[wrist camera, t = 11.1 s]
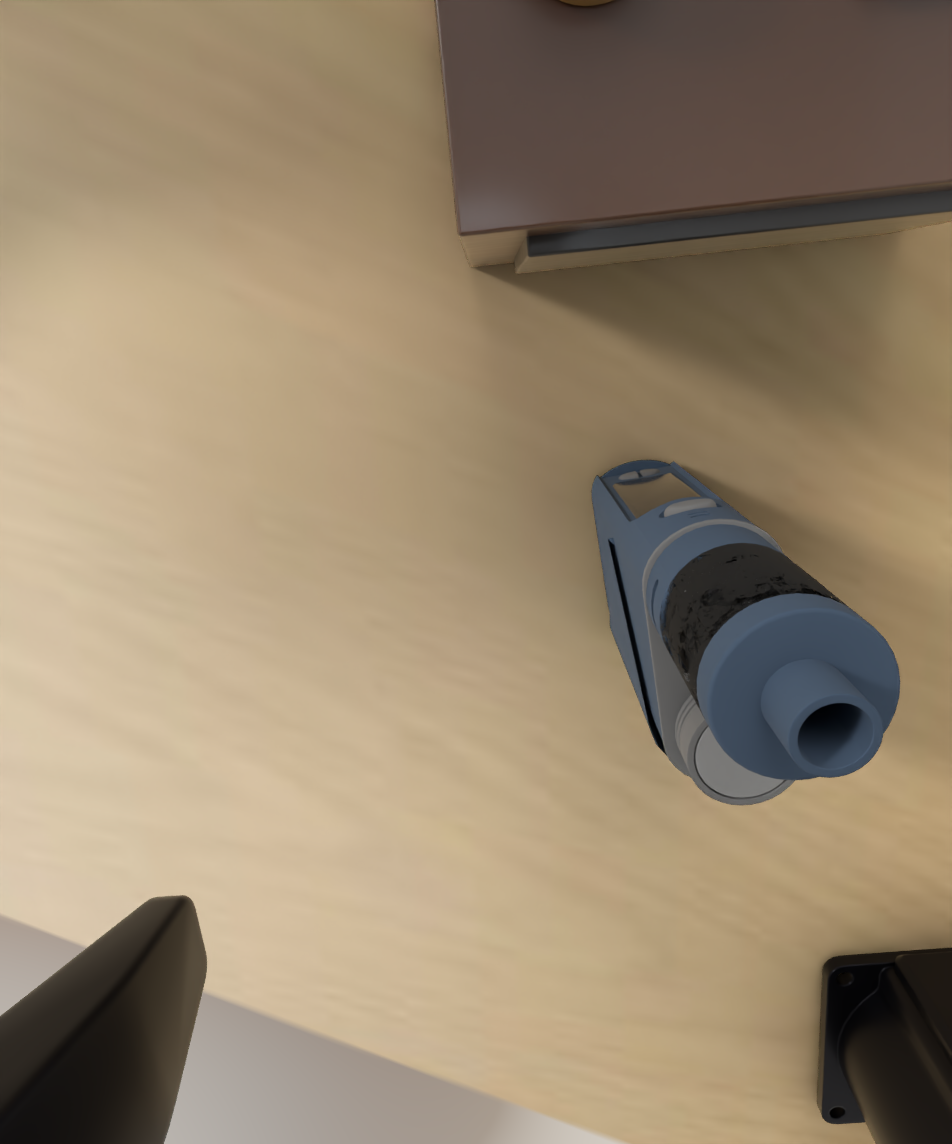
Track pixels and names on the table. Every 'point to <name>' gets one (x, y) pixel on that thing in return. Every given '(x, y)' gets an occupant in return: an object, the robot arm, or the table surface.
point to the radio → (692, 125)
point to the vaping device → (734, 641)
